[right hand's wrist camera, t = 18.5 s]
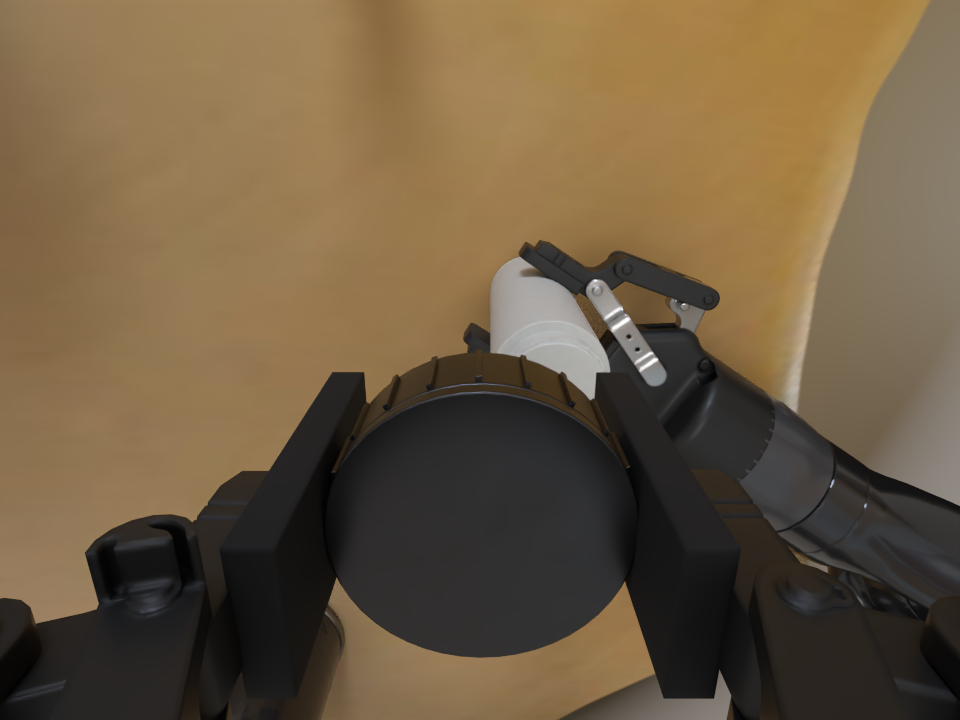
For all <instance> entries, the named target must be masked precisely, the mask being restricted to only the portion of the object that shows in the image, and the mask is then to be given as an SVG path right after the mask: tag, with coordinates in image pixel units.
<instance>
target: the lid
mask: <svg viewBox="0 0 960 720" xmlns="http://www.w3.org/2000/svg"><path fill="white" fill-rule="evenodd" d="M631 471H632V470H631V467H630V465H629V463H628V460H627V458H626V456H625V454H624V452H623V450H622V447H621V445H620V443H619V441H618V439H617V437H616V434H615V432H611V433H610V431H609V428H608V426H607V424H606V422H605V419H604V417H603V415H602V413H601V410H600V408H599V406H598V404H597V401H596V400H595V399H594V398H593V399H591V400H590V399H589V398H588V397H587V396H586V395H585V393H583V392H582V391H581V390H580V389H579V388H578V387H577V386H575V385H574V384H573V383H572V382H571V381H569V380H568V379H567V376H566V374H565V373H564V372H562V371H561V373H560V374H559V373H557V372H556V371H554V370H551V369H549V368H547V367H545V366H543V365H541V364H539V363H536V362H533V361H530V360H527V358H526V356H525V355H521V356H520V357H516V356H511V355H506V354H498V353H486V352H482V350H476V353H464V354H458V355H452V356H446V357H443V358H440V359H438V357H437V356H435V357H432V359H431V361H430V362H427V363H425V364H423V365H420V366H418V367H416V368H414V369H411V370H410V371H408V372H407V373H405V374H403V375H402V376H400V377H399V376H398V375H395V376H394V377H393V379H392V381H391V384H389V385H388V386H387V387H386V388H384V389H383V390H382V391H381V392H380V393H379V394H378V395H377V396H376V398H375V399H374V400H373V401H372V402H371V403H370V404H369V403H367V402H366V403H365V405H364V406H363V408H362V411H361V413H360V415H359V417H358V420H357V422H356V424H355V426H354V429H353V431H352V433H351V435H350V437H349V436H347V439H346V441H345V443H344V445H343V447H342V449H341V452H340V454H339V456H338V458H337V460H336V463H335V465H334V467H333V469H332V471H331V474H330V476H331V477H333V480H332V482H331V485H330V489H329V492H328V495H327V498H326V505H325V511H324V537H325V543H326V549H327V553H328V556H329V559H330V562H331V565H332V568H333V570H334V572H335V574H336V576H337V578H338V580H339V582H340V584H341V586H342V587H343V588H344V590H345V591H346V593H347V594H348V596H349V597H350V599H351V600H352V601H353V602H354V603H355V604H356V605H357V606H358V607H359V609H360V610H361V611H362V612H363V613H365V614H366V615H367V616H368V617H369V618H370V619H371V620H373V621H374V622H375V623H376V624H378V625H379V626H381V627H382V628H384V629H385V630H387V631H388V632H390V633H391V634H393V635H395V636H397V637H399V638H401V639H403V640H405V641H406V642H409V643H412V644H414V645H417V646H419V647H422V648H425V649H428V650H432V651H435V652H439V653H443V654H449V655H455V656H463V657H478V658H481V657H501V656H508V655H515V654H520V653H524V652H528V651H532V650H536V649H539V648H542V647H544V646H547V645H550V644H553V643H555V642H557V641H559V640H561V639H563V638H565V637H567V636H569V635H571V634H572V633H574V632H575V631H577V630H579V629H580V628H582V627H583V626H585V625H586V624H587V623H589V622H590V621H591V620H592V619H593V618H595V617H596V616H597V615H598V614H599V613H600V612H601V611H602V610H603V609H604V608H605V607H606V606H607V605H608V604H609V603H610V602H611V601H612V599H613V598H614V597H615V595H616V594H617V593H618V591H619V590H620V588H621V587H622V585H623V583H624V581H625V580H626V578H627V576H628V574H629V572H630V569H631V567H632V564H633V561H634V559H635V551H636V542H637V533H638V523H639V505H638V500H637V497H636V493H635V489H634V486H633V483H632V481H631V479H630V477H629V474H628V472H631Z"/></svg>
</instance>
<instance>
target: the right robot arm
mask: <svg viewBox="0 0 960 720" xmlns="http://www.w3.org/2000/svg"><path fill="white" fill-rule="evenodd" d="M594 399H595V400H596V401H597V404H598V406H599V408H600V410H601V413H602V415H603V417H604V419H605V422H606V424H607V426H608V428H609V431H610V433H611V432H615V434H616V437H617V439H618V441H619V443H620V445H621V447H622V450H623V452H624V454H625V456H626V458H627V460H628V463H629V465H630V467H631V470H632V471H631V472H628V474H629V477H630V479H631V481H632V483H633V486H634V489H635V493H636V497H637V500H638V505H639V523H638V533H637V542H636V551H635V559H634V561H633V564H632V567H631V569H630V572H629V574H628V576H627V578H626V580H625V582H626V585H627V588H628V591H629V595H630V598H631V601H632V604H633V607H634V610H635V613H636V616H637V619H638V622H639V625H640V628H641V631H642V634H643V637H644V640H645V643H646V646H647V649H648V652H649V655H650V658H651V661H652V664H653V667H654V670H655V673H656V676H657V679H658V682H659V685H660V688H661V691H662V694H663V697H664V698H704V699H706V698H710V699H711V698H712V699H714V696H715V690H716V685H717V679H718V674H719V669H720V671H721V674H722V676H723V678H724V680H725V682H726V685H727V687H728V689H729V691H730V693H731V701H730V706H729V711H728V716H727V720H960V596H949V597H941V598H939V599H938V600H937V601H935V602H934V603H933V604H931V606H930V609H929V612H928V615H927V619H926V621H921V620H917V619H912V618H908V617H903V616H899V615H894V614H890V613H885V612H880V611H876V610H873V609H869V608H866V607H863V606H862V604H861V602H860V601H859V600H858V598H857V597H856V595H855V594H854V592H853V591H852V590H851V589H850V588H849V587H847V586H846V585H845V584H844V583H842V582H841V581H840V580H839V579H837V578H836V577H834V576H832V575H830V574H828V573H826V572H824V571H822V570H820V569H818V568H815V567H811V566H808V565H804V564H801V563H800V562H799V560H798V559H797V558H796V557H795V555H794V554H793V553H792V551H791V550H790V549H789V547H788V546H787V545H786V543H785V542H784V541H783V539H782V538H781V537H780V536H779V534H778V533H777V532H776V530H775V529H774V528H773V526H772V525H771V524H770V522H769V521H768V520H767V518H764V516H763V513H762V512H761V511H760V509H759V508H758V507H757V505H756V504H753V500H752V499H751V497H750V496H749V495H748V494H747V492H746V491H745V490H744V488H743V487H742V486H741V484H740V483H738V482H737V481H735V480H734V479H732V478H731V477H729V476H728V475H726V474H725V473H723V472H722V471H720V470H719V469H690V468H689V467H688V465H687V463H686V462H685V460H684V459H683V457H682V456H681V454H680V453H679V451H678V449H677V448H676V446H675V445H674V443H673V442H672V440H671V439H670V437H669V435H668V434H667V432H666V431H665V429H664V428H663V426H662V425H661V423H660V421H659V420H658V418H657V417H656V415H655V414H654V412H653V411H652V409H651V407H650V406H649V404H648V403H647V401H646V400H645V398H644V397H643V395H642V393H641V392H640V390H639V389H638V387H637V386H636V384H635V383H634V381H633V379H632V378H631V376H630V375H629V373H628V372H596V383H595V397H594ZM365 403H366V391H365V377H364V372H332V374H331V375H330V377H329V379H328V380H327V382H326V383H325V385H324V386H323V388H322V389H321V391H320V393H319V394H318V396H317V397H316V399H315V400H314V402H313V403H312V405H311V407H310V408H309V410H308V411H307V413H306V414H305V416H304V417H303V419H302V421H301V422H300V424H299V425H298V427H297V428H296V430H295V431H294V433H293V435H292V436H291V438H290V439H289V441H288V442H287V444H286V445H285V447H284V449H283V450H282V452H281V453H280V455H279V456H278V458H277V459H276V461H275V463H274V464H273V466H272V467H271V469H270V470H269V471H242V472H240V473H239V474H237V475H236V476H234V477H233V478H231V479H230V480H228V481H227V482H225V483H224V484H222V485H221V486H220V487H219V489H218V490H217V491H216V493H215V494H214V495H213V496H212V498H211V499H210V500H209V502H208V506H205V507H204V508H203V510H202V511H201V512H200V514H199V515H198V516H197V520H194V522H193V523H192V522H191V521H190V520H189V519H187V518H186V517H181V516H177V515H172V514H170V515H152V516H148V517H144V518H140V519H135V520H132V521H129V522H127V523H125V524H122V525H120V526H118V527H115V528H113V529H111V530H110V531H108V532H107V533H105V534H104V535H102V536H101V537H99V538H98V539H96V540H95V541H94V542H93V544H92V545H91V546H90V547H89V548H88V550H87V551H86V552H85V555H86V558H87V562H88V566H89V569H90V573H91V576H92V580H93V584H94V587H95V591H96V595H97V598H98V602H99V605H98V607H97V610H93V611H90V612H86V613H82V614H78V615H73V616H69V617H64V618H60V619H55V620H51V621H46V622H42V623H37V624H36V623H35V620H34V617H33V614H32V611H31V608H30V607H29V606H28V605H27V604H25V603H24V602H23V601H22V600H16V599H8V598H1V599H0V720H233V719H232V711H231V706H230V701H229V697H230V695H231V693H232V691H233V689H234V686H235V684H236V682H237V680H238V678H239V675H240V673H241V672H242V677H243V683H244V688H245V694H246V698H297V696H298V693H299V690H300V687H301V684H302V680H303V677H304V674H305V671H306V668H307V665H308V662H309V659H310V656H311V653H312V650H313V647H314V644H315V641H316V638H317V635H318V632H319V629H320V626H321V623H322V620H323V617H324V614H325V611H326V608H327V605H328V602H329V599H330V596H331V593H332V590H333V587H334V584H335V580H336V577H337V576H336V574H335V572H334V570H333V568H332V565H331V562H330V559H329V556H328V553H327V549H326V543H325V537H324V511H325V505H326V498H327V495H328V492H329V489H330V485H331V482H332V480H333V477H331V476H330V474H331V471H332V469H333V467H334V465H335V463H336V460H337V458H338V456H339V454H340V452H341V449H342V447H343V445H344V443H345V441H346V439H347V436H349V437H350V435H351V433H352V431H353V429H354V426H355V424H356V422H357V420H358V417H359V415H360V413H361V411H362V408H363V406H364V405H365Z"/></svg>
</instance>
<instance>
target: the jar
mask: <svg viewBox="0 0 960 720" xmlns="http://www.w3.org/2000/svg"><path fill="white" fill-rule="evenodd" d="M490 353H498V354H506V355H511V356H516V357H520V356H521V355H525V356H526V358H527V360H530V361H533V362H536V363H539V364H541V365H543V366H545V367H547V368H549V369H551V370H554V371H556V372H557V373H559V374H560V373H561V371H562V372H564V373H565V374H566V376H567V379H568V380H569V381H571V382H572V383H573V384H574V385H575V386H577V387H578V388H579V389H580V390H581V391H582V392H583V393H585V395H586V396H587V397H588V398H589V399H590V400H591V399H593V398H594V397H595V383H596V372H610V366H609V361H608V358H607V355H606V353H605V351H604V348H603V347H602V345H601V343H600V342H599V340H598V338H597V336H596V335H595V333H594V331H593V329H592V328H591V326H590V324H589V323H588V321H587V319H586V317H585V316H584V314H583V312H582V311H581V309H580V307H579V305H578V304H577V302H576V300H575V298H574V297H573V295H572V293H571V292H570V291H569V290H568V289H566V288H565V287H564V286H562V285H560V284H559V283H557V282H556V281H554V280H553V279H551V278H550V277H548V276H547V275H545V274H544V273H542V272H541V271H539V270H538V269H536V268H535V267H533V266H532V265H530V264H529V263H527V262H526V261H525V260H523V259H522V258H521V257H517V258H514V259H512V260H510V261H508V262H507V263H505V264H504V265H503V266H502V267H501V268H500V269H499V270H498V271H497V273H496V274H495V276H494V278H493V280H492V283H491V288H490Z"/></svg>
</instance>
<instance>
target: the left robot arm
mask: <svg viewBox="0 0 960 720" xmlns="http://www.w3.org/2000/svg"><path fill="white" fill-rule="evenodd" d="M519 256H520V257H521V258H522V259H523V260H525V261H526V262H527V263H529V264H530V265H532V266H533V267H535V268H536V269H538V270H539V271H541V272H542V273H544V274H545V275H547V276H548V277H550V278H551V279H553V280H554V281H556V282H557V283H559V284H560V285H562V286H564V287H565V288H566V289H568V290H569V291H571V292H572V293H574V294H575V295H578V293H579V292H580V293H581V294H583V295H584V296H585V297H587V298H589V300H590V301H591V303H592V304H593V305H594V307H595V308H596V310H597V311H598V313H599V314H600V316H601V317H602V318H603V320H604V321H605V323H606V324H607V326H608V327H609V329H610V330H611V331H609V330H608V329H607V330H606V332H605V333H604V334H603V336H602V337H601V338H600V340H599V342H600V343H601V345H602V347H603V348H604V351H605V353H606V355H607V358H608V361H609V366H610V372H628V373H629V375H630V376H631V378H632V379H633V381H634V383H635V384H636V386H637V387H638V389H639V390H640V392H641V393H642V395H643V397H644V398H645V400H646V401H647V403H648V404H649V406H650V407H651V409H652V411H653V412H654V414H655V415H656V417H657V418H658V420H659V421H660V423H661V425H662V426H663V428H664V429H665V431H666V432H667V434H668V435H669V437H670V439H671V440H672V442H673V443H674V445H675V446H676V448H677V449H678V451H679V453H680V454H681V456H682V457H683V459H684V460H685V462H686V463H687V465H688V467H689V468H690V469H719V470H720V471H722V472H723V473H725V474H726V475H728V476H729V477H731V478H732V479H734V480H735V481H737V482H738V483H740V484H741V486H742V487H743V488H744V490H745V491H746V492H747V494H748V495H749V496H750V497H751V499H752V500H753V504H756V505H757V507H758V508H759V509H760V511H761V512H762V513H763V516H764V518H767V520H768V521H769V522H770V524H771V525H772V526H773V528H774V529H775V530H776V532H777V533H778V534H779V536H780V537H781V538H782V539H783V541H784V542H785V543H786V545H787V546H788V547H789V549H790V550H791V551H792V552H794V553H796V554H797V555H799V556H801V557H803V558H805V559H808V560H810V561H812V562H815V563H818V564H821V565H824V566H828V574H830V575H832V576H834V577H836V578H837V579H839V580H840V581H841V582H842V583H844V584H845V585H846V586H847V587H849V588H850V589H851V590H852V591H853V592H854V594H855V595H856V597H857V598H858V600H859V601H860V602H861V604H862V606H863V607H866V608H869V609H873V610H876V611H880V612H885V613H890V614H894V615H899V616H903V617H908V618H912V619H917V620H921V621H926V619H927V615H928V612H929V609H930V606H931V604H933V603H934V602H935V601H937V600H938V599H939V598H941V597H949V596H960V506H958V505H956V504H954V503H952V502H949V501H947V500H945V499H943V498H940V497H938V496H935V495H933V494H931V493H928V492H926V491H923V490H921V489H919V488H916V487H914V486H912V485H909V484H907V483H904V482H901V481H898V480H896V479H893V478H890V477H887V476H884V475H882V474H879V473H877V472H875V471H872V470H870V469H869V468H867V467H866V466H865V465H864V464H862V463H861V462H859V461H858V460H857V459H855V458H854V457H852V456H851V455H849V454H848V453H846V452H845V451H843V450H842V449H841V448H839V447H838V446H836V445H835V444H833V443H832V442H830V441H829V440H827V439H826V438H824V437H823V436H822V435H820V434H819V433H818V432H817V431H816V430H814V429H813V428H812V427H811V426H810V425H809V424H808V423H807V422H806V421H805V420H804V419H803V418H802V417H800V416H799V415H798V414H796V413H795V412H794V411H792V410H791V409H790V408H788V407H787V406H786V405H785V404H784V403H782V402H780V401H778V400H776V399H775V398H774V397H772V396H771V395H769V394H768V393H766V392H765V391H763V390H762V389H760V388H759V387H757V386H756V385H755V384H753V383H752V382H750V381H749V380H747V379H746V378H744V377H743V376H741V375H740V374H738V373H737V372H736V371H734V370H733V369H731V368H730V367H728V366H727V365H725V364H724V363H722V362H721V361H719V360H718V359H717V358H715V357H714V356H712V355H711V354H709V353H708V352H706V351H705V350H704V349H703V348H702V347H701V345H700V343H699V340H698V338H697V336H696V335H695V334H694V333H695V331H696V329H697V327H698V325H699V323H700V321H701V319H702V317H703V315H704V313H705V311H706V310H712V309H714V308H715V307H716V306H717V305H718V303H719V300H720V296H719V293H718V292H717V291H716V290H714V289H713V288H711V287H710V286H708V285H706V284H705V283H703V282H701V281H700V280H697V279H695V278H692V277H689V276H687V275H684V274H681V273H679V272H676V271H673V270H671V269H668V268H665V267H663V266H660V265H657V264H655V263H652V262H649V261H647V260H644V259H641V258H639V257H636V256H633V255H631V254H628V253H625V252H623V251H614V252H612V253H611V254H610V255H609V257H608V259H607V260H606V261H604V262H603V263H601V264H600V265H598V266H596V267H593V268H588V267H585V266H583V265H582V264H580V263H579V262H577V261H576V260H574V259H573V258H571V257H570V256H569V255H567V254H566V253H564V252H563V251H561V250H560V249H558V248H557V247H555V246H554V245H553V244H551V243H550V242H546V241H541V240H539V242H538V243H537V245H536V246H535V247H534V246H532V245H531V244H529V243H527V242H525V243H524V245H523V246H522V248H521V249H520V251H519ZM625 281H627V282H629V283H632V284H635V285H637V286H640V287H643V288H646V289H648V290H651V291H654V292H656V293H659V294H662V295H664V296H666V299H665V302H666V305H667V307H668V308H669V309H670V310H671V311H673V312H674V313H675V314H676V322H675V323H659V324H634V323H633V322H632V320H631V319H630V317H629V316H628V314H627V313H626V312H625V310H624V309H623V307H622V306H621V304H620V303H619V301H618V300H617V298H616V297H615V296H614V294H613V293H612V291H611V290H613V289H614V288H616V287H617V286H619V285H620V284H622V283H623V282H625ZM463 340H464V341H465V343H467V344H468V351H467V352H468V353H476V350H482V352H486V353H490V333H489V332H487V331H486V330H484V329H482V328H481V327H479V326H478V325H476V324H474V323H470V325H469V326H468V328H467V329H466V331H465V332H464V338H463ZM343 647H344V633H343V629H342V626H341V624H340V622H339V620H338V618H337V617H336V615H335V614H334V613H333V612H332V611H331V610H330V609H329V608H328V607H327V608H326V611H325V614H324V617H323V620H322V623H321V626H320V629H319V632H318V635H317V638H316V641H315V644H314V647H313V650H312V653H311V656H310V659H309V662H308V665H307V668H306V671H305V674H304V677H303V680H302V684H301V687H300V690H299V693H298V696H297V698H246V694H245V688H244V683H243V677H242V672H241V673H240V675H239V678H238V680H237V682H236V684H235V686H234V689H233V691H232V693H231V695H230V697H229V701H230V706H231V711H232V719H233V720H321V717H322V714H323V710H324V707H325V704H326V700H327V697H328V693H329V690H330V687H331V684H332V681H333V677H334V674H335V670H336V667H337V664H338V662H339V660H340V657H341V654H342V651H343Z"/></svg>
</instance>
